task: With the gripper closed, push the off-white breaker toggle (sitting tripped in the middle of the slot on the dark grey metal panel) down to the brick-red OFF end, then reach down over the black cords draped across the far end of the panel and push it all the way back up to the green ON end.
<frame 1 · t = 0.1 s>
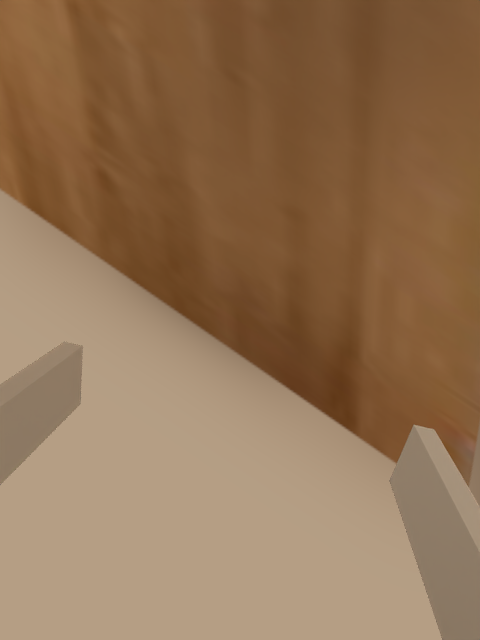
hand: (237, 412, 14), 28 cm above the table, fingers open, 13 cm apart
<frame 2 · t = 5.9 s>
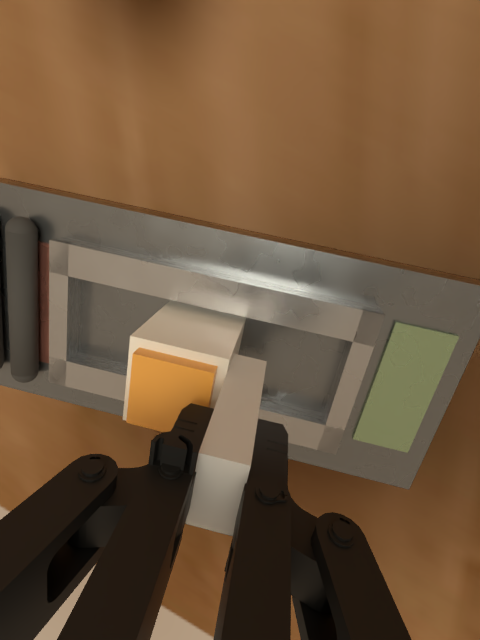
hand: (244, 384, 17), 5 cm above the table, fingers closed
panel: (212, 329, 21), on the table
cords: (13, 297, 20), resting on panel
toggle: (187, 366, 17), point 5 cm above the table, slide at 5.1 cm, touching gripper
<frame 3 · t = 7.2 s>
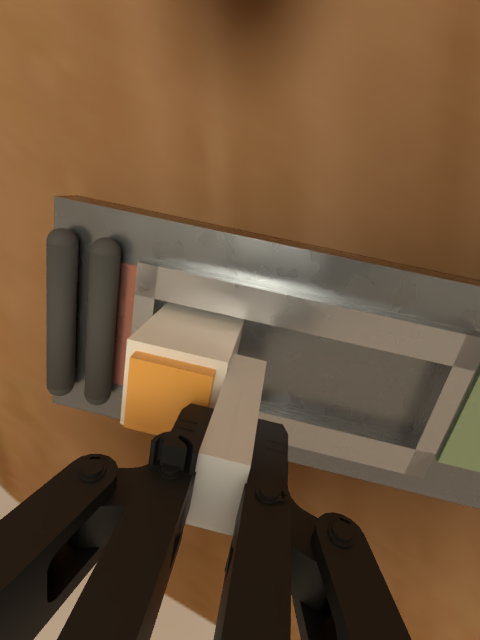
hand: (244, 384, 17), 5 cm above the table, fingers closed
panel: (288, 349, 21), on the table
cords: (88, 318, 20), resting on panel
toggle: (185, 369, 17), point 5 cm above the table, slide at 9.7 cm, touching gripper
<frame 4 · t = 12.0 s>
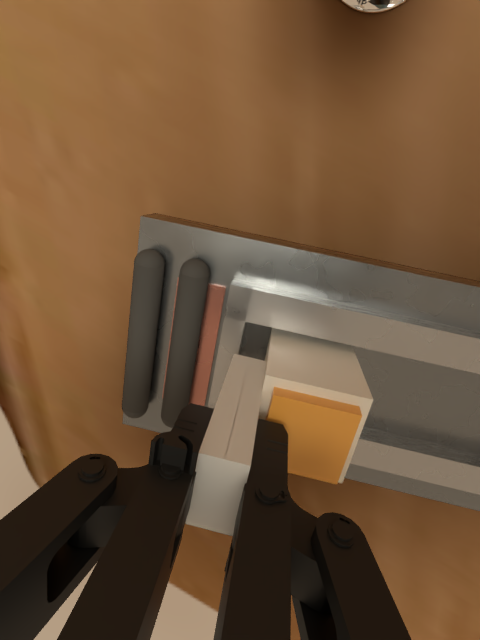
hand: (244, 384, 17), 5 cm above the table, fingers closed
panel: (366, 369, 21), on the table
cords: (167, 339, 19), resting on panel
toggle: (303, 400, 16), point 5 cm above the table, slide at 8.8 cm, touching gripper
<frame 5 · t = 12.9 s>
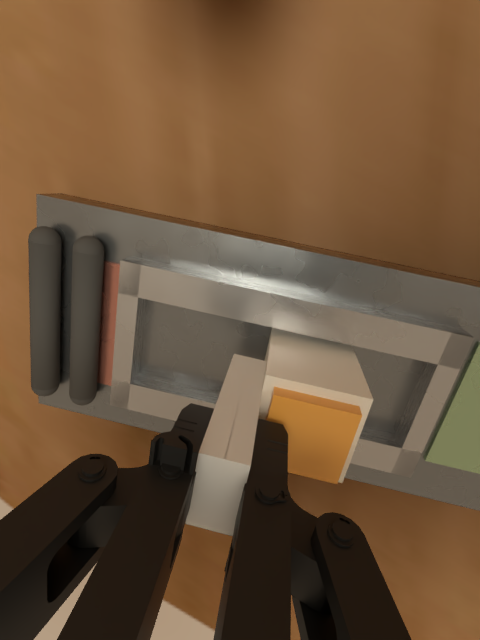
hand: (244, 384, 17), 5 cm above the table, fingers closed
panel: (275, 348, 21), on the table
cords: (73, 317, 20), resting on panel
toggle: (303, 400, 16), point 5 cm above the table, slide at 3.5 cm, touching gripper
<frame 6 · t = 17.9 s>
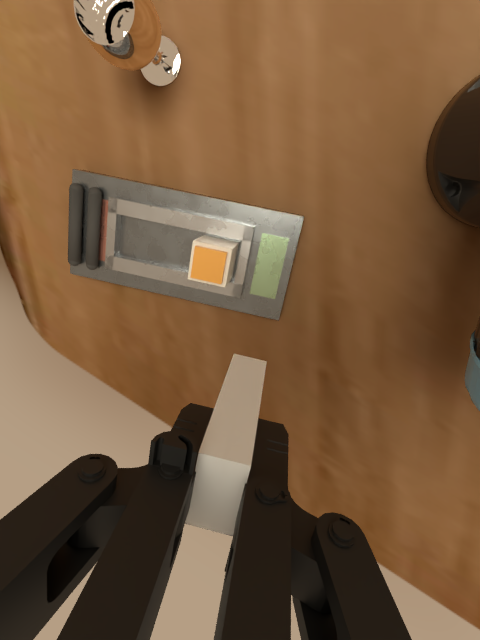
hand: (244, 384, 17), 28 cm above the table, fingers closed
wineglass: (160, 62, 38), on the table
panel: (183, 244, 44), on the table
cords: (87, 227, 43), resting on panel
toggle: (213, 260, 39), point 5 cm above the table, slide at 0.3 cm
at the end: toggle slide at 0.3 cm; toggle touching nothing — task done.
